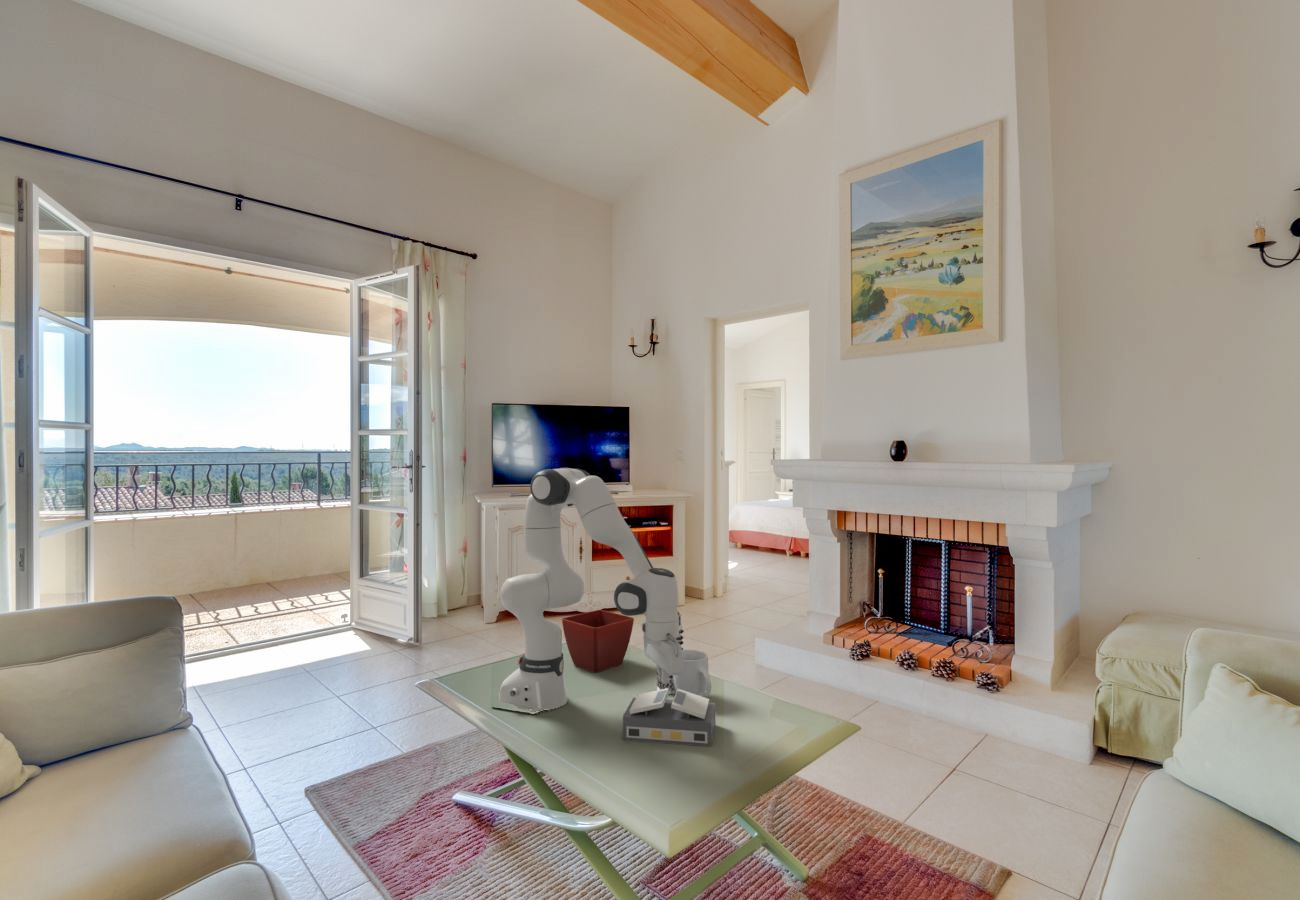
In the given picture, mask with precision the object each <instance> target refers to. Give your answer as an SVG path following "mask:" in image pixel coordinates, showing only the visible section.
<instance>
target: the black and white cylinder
mask: <svg viewBox="0 0 1300 900" xmlns="http://www.w3.org/2000/svg"><path fill="white" fill-rule="evenodd" d="M677 613H678V617H679V637H678V638H676V639H677V642H678V643H679V644H680V645H681V648H682V650H684V648H683V647H682V645H683V644H684V641H683V639H684V636H682V634H684V632H685V630H683V626H682V621H681V616H682V613H680V611H679V610H678V609H677ZM656 676H657V677H656V686H657V688H656V691H657V690H662V689H666V688H669V694H668V695H675V694H676V689H675V685H674V680H673V675H669V683H668V684H663V683H662V682H660V681H659V674H658V671H657V672H656Z"/></svg>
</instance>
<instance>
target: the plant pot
mask: <svg viewBox="0 0 1300 900" xmlns="http://www.w3.org/2000/svg"><path fill="white" fill-rule="evenodd" d="M634 620H635V618H634V617H632V616H626V615H623V614H621V613H616V612H611V611H608V610H603V609H597V610H593V611H588V612H584V613H579V614H576V615H575V614H574V615H571V616H567V617H566V616H565V617H562V618H561V623H562V624H561V625H562V629H563V635H564V638H565V642H566V646H567V649H568V652H569V655H570V658H571V660H572V663H573V665H574V666H576V667H578V668H582V669H583V670H587V671H590V672H593V673H600V672H604V671H606V670H609V669H612V668H615V667H618V666H621V665H622V664H623V661H624V659H625V657H626V653H627V650H628V647H629V644H630V640H631V635H632V631H633V629H634V628H633V626H634Z"/></svg>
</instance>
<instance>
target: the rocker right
mask: <svg viewBox="0 0 1300 900" xmlns="http://www.w3.org/2000/svg"><path fill="white" fill-rule="evenodd" d="M672 700H673V702H672V705H671V708H673V709H676V710H679V711H682V712H685V713H688V714H691V715H694V716H697V717H700V718H703V719H705V715H706V711H707V707H708V702H710V698H707V697H702V696H699V695H696V694H693V693H690V692H687V691H684V690H681V689H677V692H676V694H674V697H673V699H672Z"/></svg>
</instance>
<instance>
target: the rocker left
mask: <svg viewBox="0 0 1300 900" xmlns="http://www.w3.org/2000/svg"><path fill="white" fill-rule="evenodd" d="M669 695H670V694H669V688H666V689H662V690H657V689H656V690H653V691H648V692H643V693H639V694H637V696H636V697H635V698H636V699H635V701H634V703H633V704H632V706H631V708H630V710H629V711H630V714H633V713H638V712H643V711H647V710H652V709H657V708H662V707H663V706H664V703H665V701H666V700H668V699H667V698H668V696H669Z"/></svg>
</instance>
